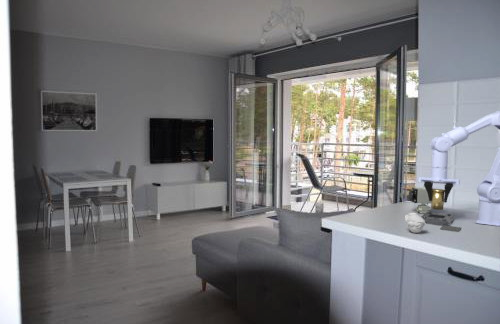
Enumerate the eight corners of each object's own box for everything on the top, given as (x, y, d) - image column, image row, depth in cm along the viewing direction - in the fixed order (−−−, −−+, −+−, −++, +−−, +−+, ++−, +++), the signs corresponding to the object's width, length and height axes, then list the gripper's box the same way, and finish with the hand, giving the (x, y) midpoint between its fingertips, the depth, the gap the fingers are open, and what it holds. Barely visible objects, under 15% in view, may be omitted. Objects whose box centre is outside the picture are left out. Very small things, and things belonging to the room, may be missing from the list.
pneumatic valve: (439, 214, 168) (440, 186, 167) (411, 214, 168) (413, 186, 168) (433, 211, 174) (434, 185, 173) (406, 211, 174) (408, 184, 173)
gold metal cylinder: (445, 208, 155) (446, 189, 155) (442, 210, 151) (444, 191, 151) (431, 206, 158) (432, 188, 158) (428, 208, 154) (430, 189, 153)
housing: (426, 216, 164) (427, 210, 163) (453, 219, 158) (453, 213, 158) (419, 222, 152) (419, 216, 152) (447, 226, 147) (448, 220, 146)
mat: (461, 228, 144) (461, 227, 143) (458, 231, 139) (458, 230, 139) (443, 226, 147) (443, 225, 147) (440, 229, 142) (440, 228, 142)
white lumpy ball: (409, 229, 142) (409, 210, 141) (428, 233, 137) (429, 213, 136) (400, 232, 138) (401, 212, 137) (420, 236, 133) (421, 215, 132)
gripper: (417, 167, 154) (416, 201, 155) (458, 169, 146) (456, 205, 147) (421, 165, 160) (419, 198, 161) (461, 167, 152) (459, 202, 153)
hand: (437, 201), depth 154 cm, fingers closed on gold metal cylinder, 5 cm apart
